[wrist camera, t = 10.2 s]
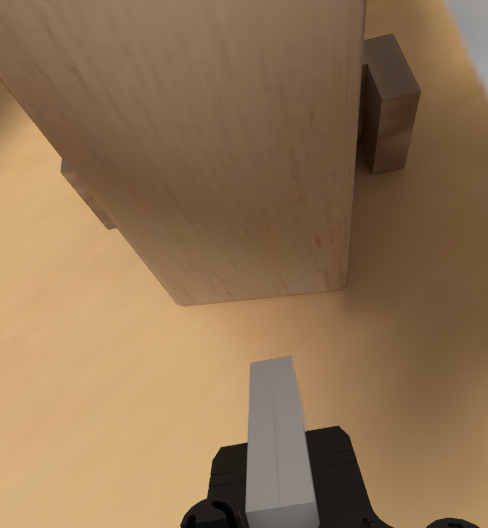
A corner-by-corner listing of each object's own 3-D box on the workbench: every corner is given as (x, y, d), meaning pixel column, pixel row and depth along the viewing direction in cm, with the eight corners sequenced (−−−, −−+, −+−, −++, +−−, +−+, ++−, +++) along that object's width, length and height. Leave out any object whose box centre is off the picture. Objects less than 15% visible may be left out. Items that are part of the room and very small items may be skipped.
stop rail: (107, 229, 30) (60, 172, 24) (110, 173, 32) (67, 111, 27) (404, 167, 28) (420, 91, 23) (382, 113, 30) (392, 33, 25)
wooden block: (326, 158, 29) (317, -334, 12) (348, 292, 24) (387, -208, 7) (183, 179, 31) (-9, -236, 13) (177, 310, 26) (-135, -75, 9)
